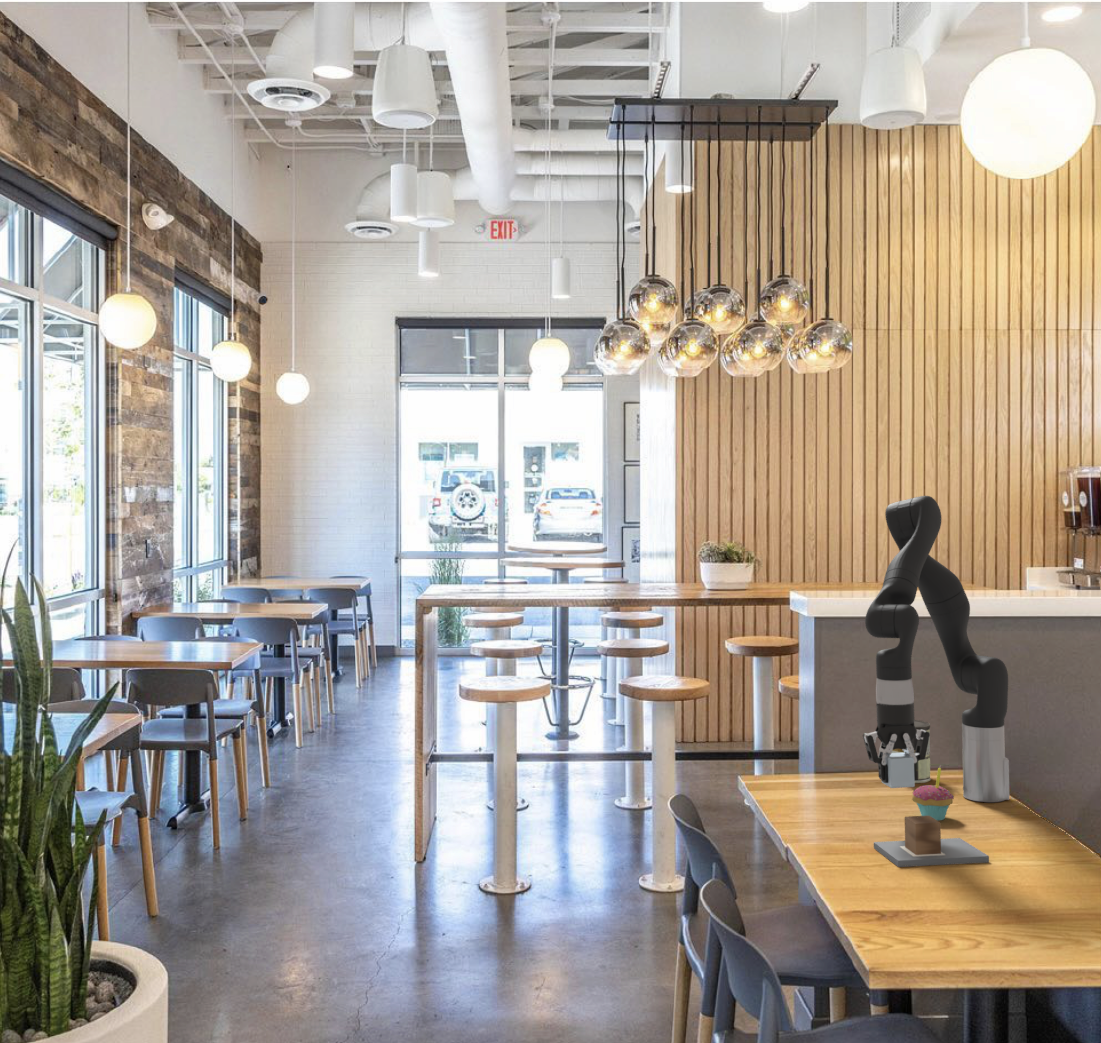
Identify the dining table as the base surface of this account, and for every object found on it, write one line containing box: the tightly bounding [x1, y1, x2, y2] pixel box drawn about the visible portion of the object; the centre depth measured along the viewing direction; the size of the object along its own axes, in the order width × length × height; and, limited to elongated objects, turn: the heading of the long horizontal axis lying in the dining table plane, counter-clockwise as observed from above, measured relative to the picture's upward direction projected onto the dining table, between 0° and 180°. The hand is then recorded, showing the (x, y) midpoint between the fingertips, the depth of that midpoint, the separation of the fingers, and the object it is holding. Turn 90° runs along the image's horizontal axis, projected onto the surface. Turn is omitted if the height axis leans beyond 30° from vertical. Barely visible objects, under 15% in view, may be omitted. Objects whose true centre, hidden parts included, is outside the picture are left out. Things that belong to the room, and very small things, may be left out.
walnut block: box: [904, 815, 942, 855], centre depth 213 cm, size 5×5×6 cm
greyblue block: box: [881, 753, 916, 789], centre depth 228 cm, size 5×5×6 cm
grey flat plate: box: [873, 837, 990, 868], centre depth 214 cm, size 18×12×1 cm, turn 95°
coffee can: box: [892, 719, 932, 784], centre depth 276 cm, size 10×10×14 cm
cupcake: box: [911, 764, 954, 822], centre depth 240 cm, size 9×8×12 cm
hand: (897, 780), depth 228 cm, fingers closed on greyblue block, 5 cm apart
